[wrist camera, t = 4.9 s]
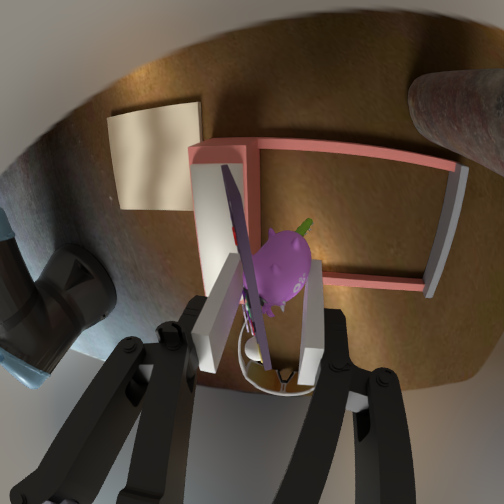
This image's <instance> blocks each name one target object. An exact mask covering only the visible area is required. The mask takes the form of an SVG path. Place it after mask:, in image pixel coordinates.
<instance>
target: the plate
mask: <svg viewBox="0 0 504 504" xmlns="http://www.w3.org/2000/svg"><path fill="white" fill-rule="evenodd" d="M107 122H108V132H109V141H110V149H111V156H112V163H113V169H114V176H115V182H116V187H117V193H118V198H119V203H120V208H121V209H143V210H186V211H194V208H193V199H192V190H191V180H190V169H189V158H188V147H189V146H192V145H194V144H197V143H200V142H202V141H203V136H202V118H201V102H193V103H185V104H177V105H170V106H163V107H157V108H151V109H146V110H141V111H136V112H131V113H126V114H121V115H117V116H113V117H109V118H107Z"/></svg>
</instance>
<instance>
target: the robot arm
mask: <svg viewBox="0 0 504 504" xmlns="http://www.w3.org/2000/svg"><path fill="white" fill-rule="evenodd" d="M14 236H15V233H14V231H12V228H11V226H10V223H9V221H8V218H7V216H6V213H5V211H4V210H3V209H2V208H1V207H0V364H1V365H2V366H3V367H4V368H5V369H6V370H7V371H8V372H9V373H10V374H11V375H13V376H14V377H15V378H16V379H17V380H18V381H20V382H21V383H22V384H24V385H25V386H26V387H28V388H30V389H38V388H39V387H40V386H41V385H42V384H43V382H44V381H45V380H46V379H47V378H48V377H50V375H51V373H52V371H53V370H54V369H55V367H56V366H57V364H58V363H59V362H60V360H61V359H62V358H63V356H64V355H65V353H66V352H67V351H68V349H69V348H70V347H71V345H72V344H73V343H74V342H75V340H76V339H77V338H78V336H79V335H80V334H81V333H82V332H83V331H84V330H86V329H88V328H89V327H91V326H93V325H95V324H96V323H98V322H100V321H101V320H103V319H105V318H106V317H107V316H108V315H109V314H110V313H111V312H112V310H113V309H114V308H115V305H116V293H115V289H114V286H113V284H112V281H111V279H110V278H109V276H108V274H107V272H106V271H105V269H104V268H103V267H102V265H101V264H100V263H99V262H98V261H97V260H96V259H95V258H94V257H93V256H92V255H91V254H90V253H89V252H87V251H86V250H85V249H83V248H81V247H80V246H77V245H74V244H65V245H62V246H61V247H60V248H59V249H57V250H56V251H55V252H54V253H53V254H52V256H51V257H50V259H49V261H48V262H47V264H46V266H45V267H44V269H43V271H42V273H41V275H40V276H39V278H38V279H37V280H36V281H35V282H34V281H33V279H32V277H31V275H30V273H29V271H28V269H27V266H26V264H25V262H24V260H23V257H22V255H21V253H20V250H19V248H18V245H17V243H16V240H15V237H14ZM242 291H243V266H242V262H241V258H240V254H239V253H229V255H228V257H227V259H226V261H225V263H224V265H223V267H222V269H221V271H220V273H219V275H218V278H217V280H216V282H215V284H214V286H213V288H212V290H211V292H210V294H209V296H208V297H205V296H198V295H196V296H195V297H194V298H192V299H191V300H190V301H189V302H188V304H187V306H186V309H185V310H184V312H183V314H182V315H181V317H180V319H179V321H178V322H175V321H168V322H165V323H162V324H161V325H159V326H158V327H157V329H156V330H155V332H156V335H157V338H158V341H159V343H146V344H143V342H142V341H141V339H140V338H138V337H134V336H130V337H126V338H124V339H122V340H121V341H120V342H119V343H118V345H117V346H116V347H115V349H114V350H113V351H112V353H111V354H110V356H109V357H108V359H107V360H106V361H105V363H104V364H103V366H102V367H101V369H100V370H99V371H98V373H97V374H96V376H95V377H94V379H93V380H92V382H91V383H90V385H89V386H88V388H87V389H86V391H85V392H84V394H83V395H82V397H81V398H80V400H79V401H78V403H77V404H76V406H75V407H74V409H73V410H72V412H71V413H70V415H69V417H68V418H67V420H66V421H65V423H64V424H63V426H62V428H61V429H60V431H59V433H58V434H57V436H56V437H55V439H54V441H53V442H52V444H51V446H50V447H49V449H48V451H47V453H46V454H45V456H44V458H43V459H42V461H41V463H40V465H39V466H38V468H37V469H36V470H35V471H34V472H33V473H31V474H30V475H28V476H27V477H26V478H25V479H23V480H22V481H21V482H19V483H18V484H17V485H15V486H14V487H13V488H12V489H11V491H10V501H11V504H92V503H93V501H94V500H95V498H96V496H97V495H98V493H99V491H100V489H101V487H102V485H103V483H104V481H105V479H106V477H107V475H108V473H109V471H110V469H111V467H112V465H113V463H114V461H115V460H116V458H117V456H118V454H119V452H120V450H121V448H122V446H123V444H124V442H125V440H126V438H127V436H128V435H129V433H130V431H131V429H132V427H133V425H134V423H135V421H136V419H137V418H138V416H139V414H140V412H141V410H142V412H141V416H140V420H139V425H138V429H137V434H136V438H135V443H134V448H133V453H132V458H131V463H130V468H129V473H128V479H127V484H126V486H125V488H124V489H122V490H121V491H120V492H119V494H118V497H117V501H116V504H183V500H184V487H185V476H186V466H187V456H188V447H189V438H190V429H191V420H192V413H193V405H194V397H195V389H196V382H197V374H196V370H197V367H198V365H199V367H200V370H201V371H206V372H211V373H216V370H217V367H218V364H219V362H220V359H221V356H222V353H223V350H224V347H225V344H226V341H227V338H228V335H229V332H230V329H231V326H232V323H233V320H234V317H235V314H236V311H237V308H238V305H239V302H240V299H241V296H242ZM314 383H315V389H314V392H313V395H312V398H311V401H310V404H309V408H308V411H307V414H306V418H305V420H304V423H303V426H302V429H301V432H300V435H299V437H298V440H297V443H296V445H295V448H294V451H293V454H292V456H291V459H290V461H289V464H288V466H287V469H286V471H285V474H284V477H283V479H282V481H281V483H280V486H279V488H278V490H277V493H276V495H275V497H274V499H273V502H272V504H318V503H319V500H320V497H321V494H322V491H323V489H324V485H325V483H326V480H327V476H328V473H329V470H330V467H331V463H332V460H333V457H334V453H335V450H336V446H337V442H338V438H339V434H340V430H341V426H342V422H343V417H344V413H345V409H346V410H350V411H352V412H353V425H354V444H355V504H416V491H415V478H414V468H413V459H412V451H411V444H410V437H409V430H408V425H407V419H406V413H405V408H404V403H403V398H402V393H401V388H400V384H399V379H398V377H397V375H396V373H395V372H394V371H392V370H391V369H388V368H383V367H381V368H377V369H375V370H374V371H372V372H370V371H367V370H364V369H361V368H359V367H357V366H356V365H354V364H353V363H352V361H351V359H350V357H349V349H348V338H347V327H346V318H345V315H344V314H343V312H342V311H341V309H327V308H324V302H323V279H322V262H321V260H312V259H311V267H310V271H309V274H308V277H307V280H306V284H305V292H304V304H303V321H302V336H301V349H300V361H299V373H298V383H297V384H300V385H314Z"/></svg>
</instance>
